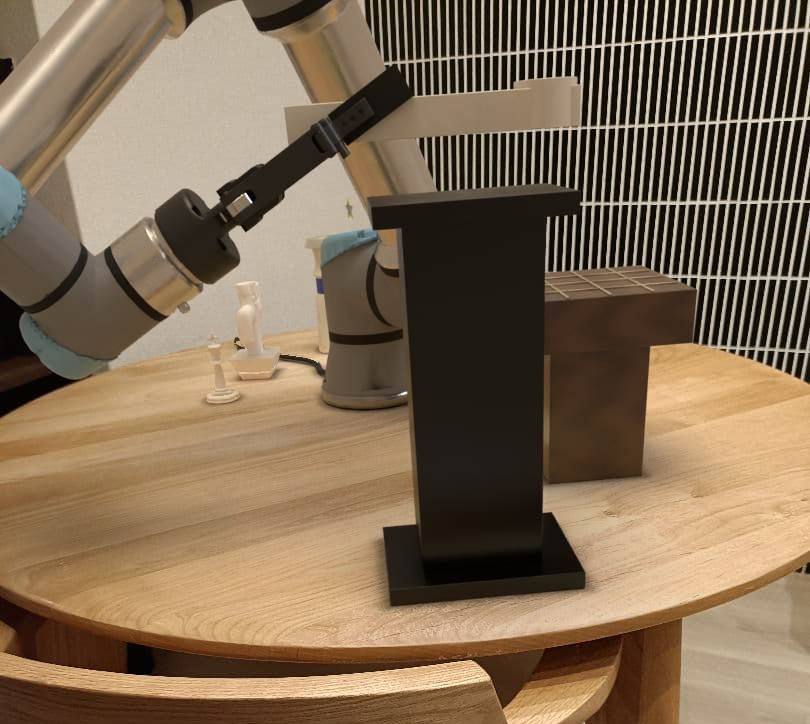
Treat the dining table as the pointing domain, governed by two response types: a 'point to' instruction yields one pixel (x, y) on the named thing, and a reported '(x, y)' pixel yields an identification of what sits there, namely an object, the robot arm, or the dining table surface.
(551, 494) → the dining table surface
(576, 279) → the goban
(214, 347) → the chess piece
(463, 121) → the white long bar
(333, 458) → the dining table surface
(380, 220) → the stand
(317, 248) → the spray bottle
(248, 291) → the figurine
